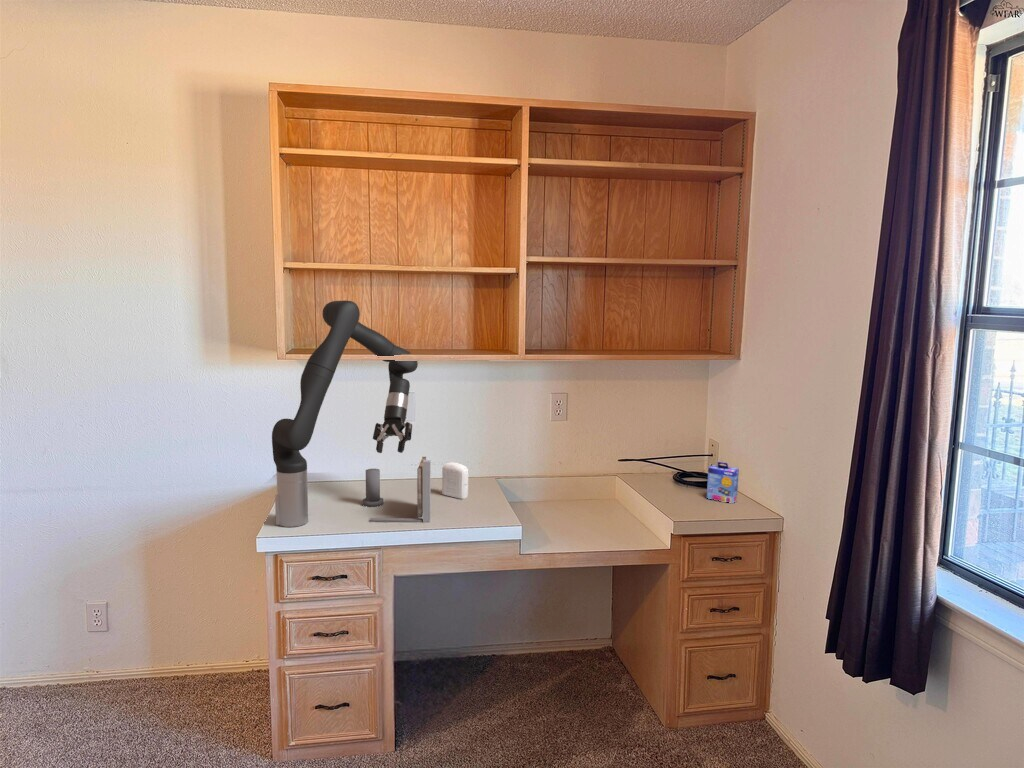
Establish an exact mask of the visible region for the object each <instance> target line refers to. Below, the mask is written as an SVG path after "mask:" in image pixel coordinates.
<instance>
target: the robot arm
mask: <svg viewBox="0 0 1024 768" xmlns="http://www.w3.org/2000/svg"><path fill="white" fill-rule="evenodd" d="M360 315H361V314H360V308H359V305H358V304H357V303H356V302H354V301H352V300H331V301H330V302H328V303H326V304H325V305H324V307H323V309H322V319H323V322H325V324H326V325H327V326H329V327H330V329H329V331H328V334H327V335H326V337H325V338H324V340H323V341H322V343H320V344H319V346H317V348H316V349H315V350H314V351H313V352H312V354H311V355H310V357H309V358H308V359H307V361H306V364H305V366H304V369H303V371H302V374H301V376H300V383H299V384H300V385H299V386H300V388H299V389H300V403H299V406H298V410H297V412H296V414H295V417H293V419H292V418H281V419H279V420H278V421H276V422H275V424H274V425H273V428H272V431H271V445H272V447H271V448H272V458H273V463H274V464H275V466H276V467H275V468H276V495H275V497H274V503H275V506H274V509H275V526H281V527H285V528H286V527H287V528H292V527H293V528H294V527H300V526H303V525H306V524H307V523H309V501H308V500H309V496H308V494H309V493H308V462H307V460H306V458H305V457H304V456H302V454H301V452H300V451H302V450H304V449H305V448H306V447H308V445H309V444H310V442H311V439H312V437H313V434H314V432H315V431H314V430H315V427H316V425H317V420H318V416H319V414H320V410H321V408H322V405H323V403H324V400H325V397H326V396H327V395H326V394H327V392H328V389H329V388H330V386H331V384H332V380H333V378H334V376H335V374H336V370H337V367H338V364H339V363H340V360H341V358H342V355H343V353H344V352H345V348H346V346H347V344H348V342H349V340H350V338H351V339H352V340H354V341H356V342H357V343H358V344H360V345H361V346H363V347H364V348H365V349H367V350H368V351H369V352H371V353H372V354H373V355H375V356H376V355H377V356H394V355H401V354H410V353H412V352H411V351H409V350H407V349H405V348H402V347H400V346H398V345H396V344H395V343H393V342H392V341H391V340H389V339H388V338H387V337H386V336H385V335H383V334H381V333H380V332H378V331H376V330H374V329H372V328H370V327H368V326H367V325H365V324H362V323H361V322H359V320H360ZM377 356H376V357H377ZM382 361H383V362H385V363H388V364H387V365H388V366H387V367H388V369H387V370H388V378H389V389H388V395H387V397H386V402H385V403H386V404H385V409H384V416H383V420H384V422H383V423H379V422H376V423H375V425H374V430H373V433H372V434H373V435H372V440H374V441H376V448H375V451H376V452H377V453H378V454H382V453H383V448H384V442H385V440H386V439H389V437H394V436H395V437H397V438H398V439H399V441H398V445H397V452H398V453H400V454H403V452H404V451H405V446H406V442H408V441H409V442H410V441H411V439H412V435H413V433H412V432H413V424H412V423H411V422H408V421H406V419H407V412H408V407H409V406H408V405H409V394H410V388H411V383H410V381H409V380H408V379H406V378H404V375H405V374H410V373H414V372H415V371H416V370H417V368H418V367H419V362H418V360H417V361H395V360H382ZM403 430H404V432H403Z"/></svg>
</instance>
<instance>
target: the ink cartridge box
mask: <svg viewBox="0 0 1024 768" xmlns="http://www.w3.org/2000/svg"><path fill="white" fill-rule="evenodd" d="M739 472H740V470H739V468H738V467H737V468H736V467H730V466H729V464H728V463H727V462H723V461H717V464H712V465H710V466H709V467H708V468H707V484H706V487H707V488H706V499H707V498H708V499H714V500H719V501H724V502H729V503H733V504H735V503H736V502H737V501H738V491H739V490H738V489H739V475H740V474H739ZM708 499H707V500H708ZM714 500H713V501H714ZM719 501H718V502H719ZM724 502H723V503H724ZM734 502H735V503H734ZM729 503H728V504H729Z"/></svg>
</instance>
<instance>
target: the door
mask: <svg viewBox="0 0 1024 768" xmlns="http://www.w3.org/2000/svg"><path fill="white" fill-rule="evenodd" d="M423 460H427V456H422V457H421V460H420V462H419V464H418V468H417V471H416V472H417V475H416V476H417V479H416V482H417V483H416V485H417V488H416V489H417V491H416V493H417V494H416V495H417V498H416V499H417V502H416V503H417V504H416V505H417V517H416V518H423ZM431 482H432V481H431V478H430V483H431Z"/></svg>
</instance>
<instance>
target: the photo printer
mask: <svg viewBox="0 0 1024 768" xmlns="http://www.w3.org/2000/svg"><path fill="white" fill-rule="evenodd" d="M441 476H442V477H441V480H442V481H441V494H442V495H444V496H448V497H452V498H456V499H460V500H465V499H467V498H468V497H469V469H468V467H467V466H465V465H464V464H461V463H460V462H456V461H455V462H453V461H452V462H446V463H444V464H443V466H442V475H441Z"/></svg>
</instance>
